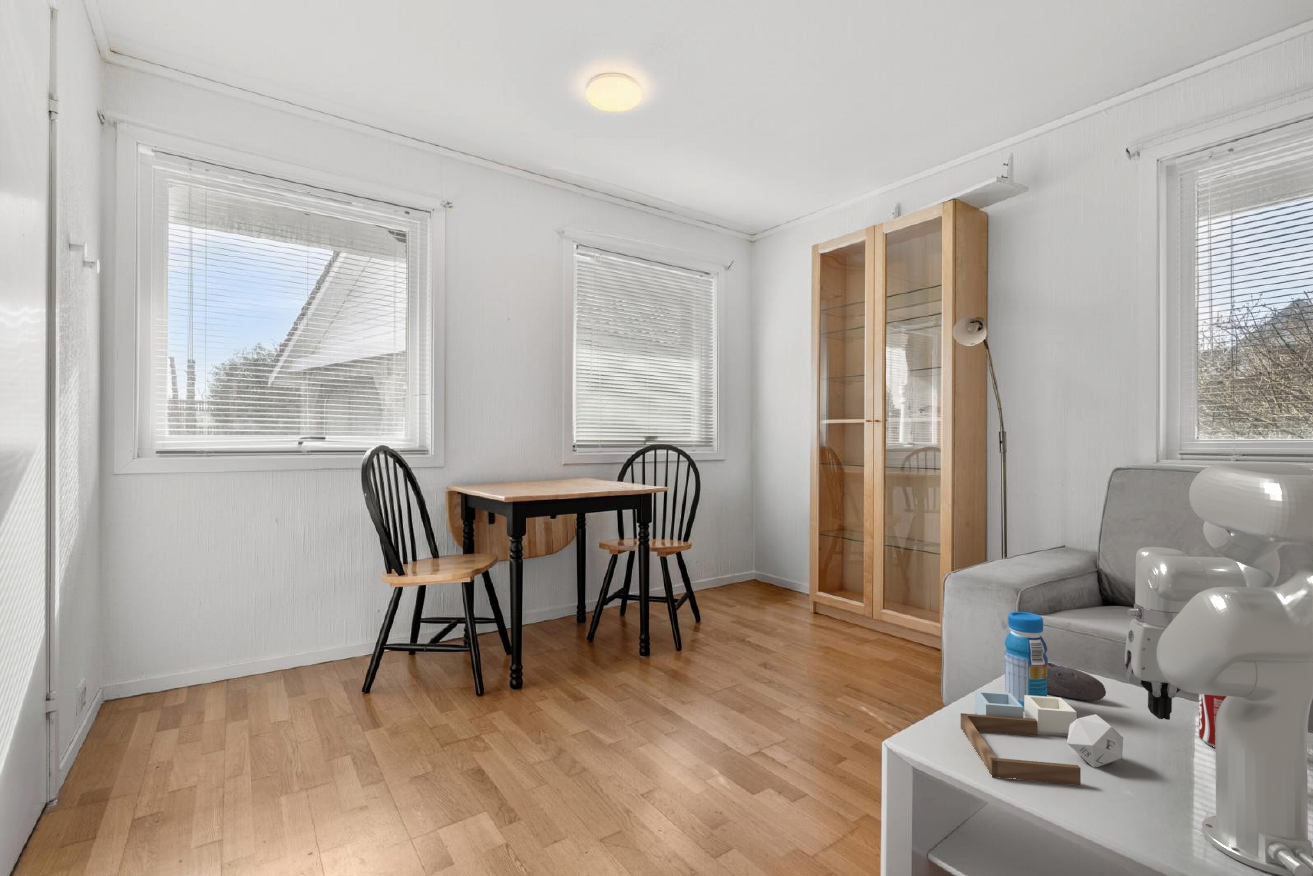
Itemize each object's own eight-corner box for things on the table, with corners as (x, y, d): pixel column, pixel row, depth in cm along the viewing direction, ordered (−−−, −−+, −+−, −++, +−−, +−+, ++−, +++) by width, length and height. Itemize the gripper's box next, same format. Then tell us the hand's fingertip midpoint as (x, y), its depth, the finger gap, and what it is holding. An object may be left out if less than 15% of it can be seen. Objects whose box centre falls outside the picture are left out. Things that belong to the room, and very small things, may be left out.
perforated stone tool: (1107, 701, 140) (1106, 670, 140) (1105, 709, 136) (1105, 677, 136) (1030, 685, 150) (1030, 656, 150) (1026, 691, 146) (1026, 662, 146)
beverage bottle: (1002, 707, 137) (1001, 616, 137) (1006, 694, 144) (1005, 608, 144) (1047, 716, 132) (1046, 623, 132) (1049, 702, 139) (1048, 614, 139)
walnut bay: (1080, 785, 106) (1080, 768, 106) (991, 777, 109) (991, 760, 109) (1035, 733, 124) (1035, 719, 125) (960, 727, 127) (960, 713, 127)
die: (1062, 765, 114) (1094, 738, 108) (1052, 724, 121) (1082, 697, 115) (1108, 784, 113) (1142, 758, 107) (1095, 742, 120) (1127, 715, 114)
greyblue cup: (1023, 731, 125) (1023, 707, 125) (986, 728, 127) (986, 704, 127) (1010, 716, 132) (1010, 693, 132) (975, 714, 134) (975, 690, 134)
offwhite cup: (1076, 737, 123) (1076, 712, 123) (1038, 734, 124) (1037, 709, 124) (1060, 721, 130) (1060, 697, 130) (1024, 718, 131) (1024, 695, 131)
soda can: (1255, 756, 116) (1255, 692, 116) (1214, 752, 117) (1213, 689, 117) (1230, 739, 122) (1229, 678, 122) (1190, 735, 123) (1190, 675, 124)
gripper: (1126, 621, 110) (1124, 722, 110) (1223, 625, 107) (1221, 729, 108) (1104, 608, 117) (1103, 703, 118) (1194, 612, 114) (1193, 709, 115)
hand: (1159, 715), depth 113 cm, fingers closed
